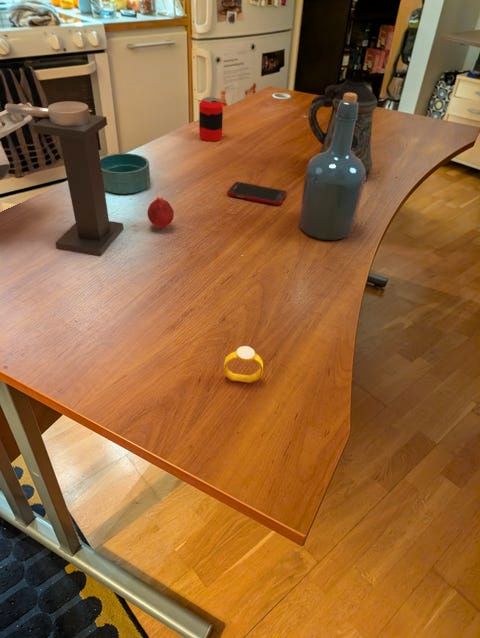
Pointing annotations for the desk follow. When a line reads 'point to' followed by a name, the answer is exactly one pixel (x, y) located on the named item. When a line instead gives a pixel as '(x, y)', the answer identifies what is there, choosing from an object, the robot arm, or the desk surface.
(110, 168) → the bowl
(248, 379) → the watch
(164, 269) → the desk surface
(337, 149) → the wine bottle
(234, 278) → the desk surface
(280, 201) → the cell phone
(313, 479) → the desk surface
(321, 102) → the beer stein
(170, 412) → the desk surface
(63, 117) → the grey scoop
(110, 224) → the brown pedestal stand
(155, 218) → the onion
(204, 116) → the soda can
